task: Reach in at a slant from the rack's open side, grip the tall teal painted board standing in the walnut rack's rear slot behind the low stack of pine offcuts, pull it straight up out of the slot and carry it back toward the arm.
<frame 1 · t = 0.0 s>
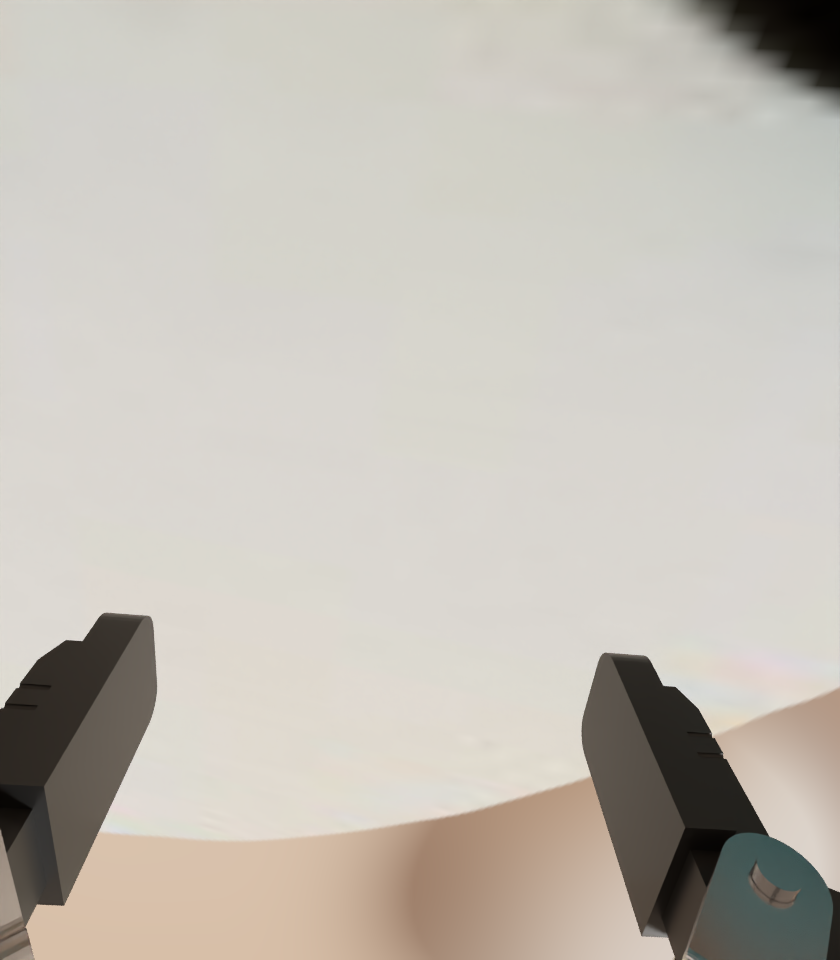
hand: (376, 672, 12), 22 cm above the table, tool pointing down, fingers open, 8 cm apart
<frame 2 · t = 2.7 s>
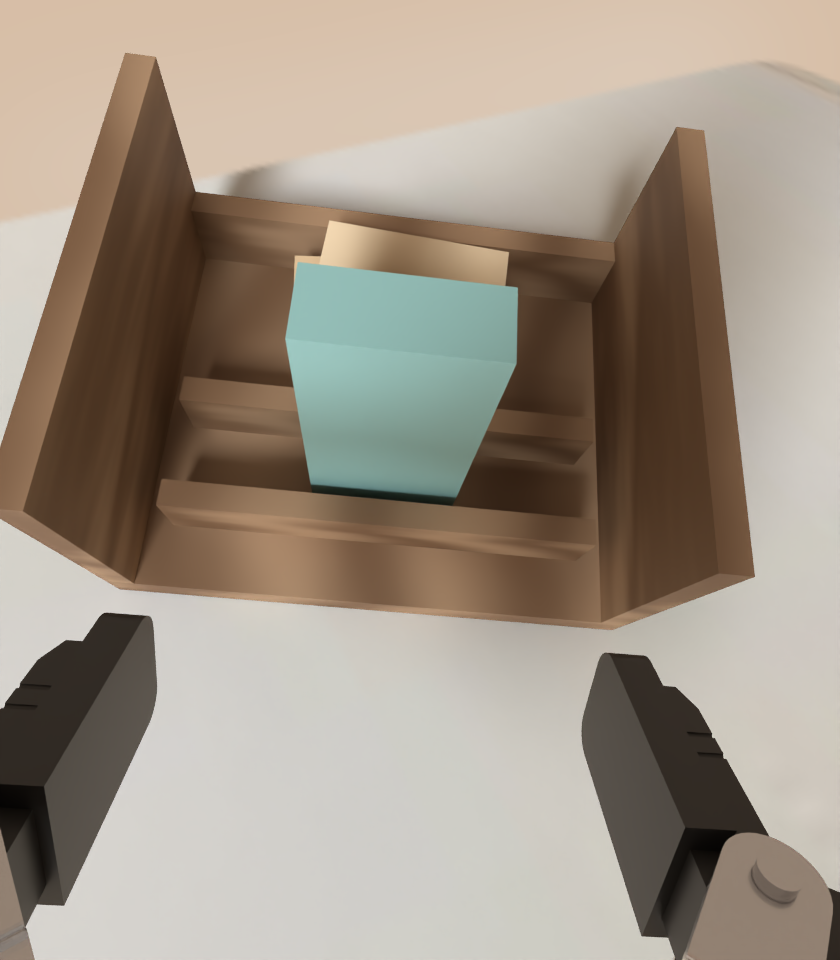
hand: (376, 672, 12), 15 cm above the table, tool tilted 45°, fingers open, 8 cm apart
teal board: (384, 482, 27), point 1 cm above the table, touching walnut rack
walnut rack: (388, 431, 30), on the table
offcut stack: (396, 346, 30), point 1 cm above the table, touching walnut rack
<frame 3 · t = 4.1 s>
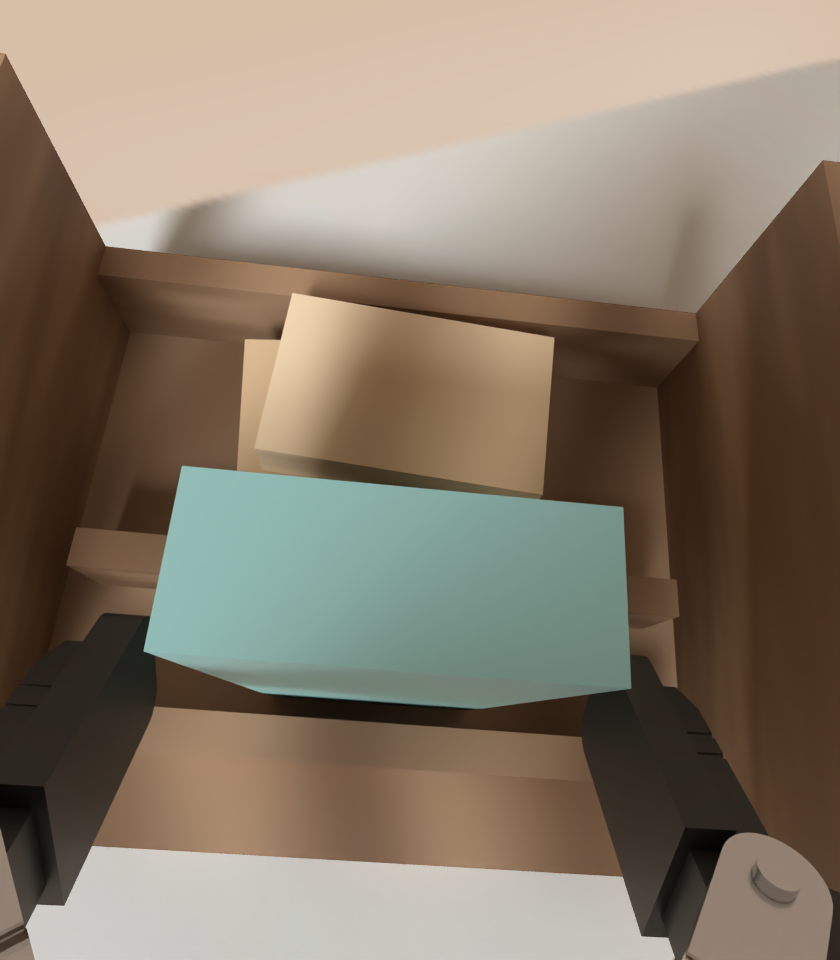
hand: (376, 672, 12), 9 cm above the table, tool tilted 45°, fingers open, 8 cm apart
teal board: (373, 663, 19), point 1 cm above the table, touching walnut rack
walnut rack: (380, 572, 22), on the table
offcut stack: (391, 455, 21), point 1 cm above the table, touching walnut rack
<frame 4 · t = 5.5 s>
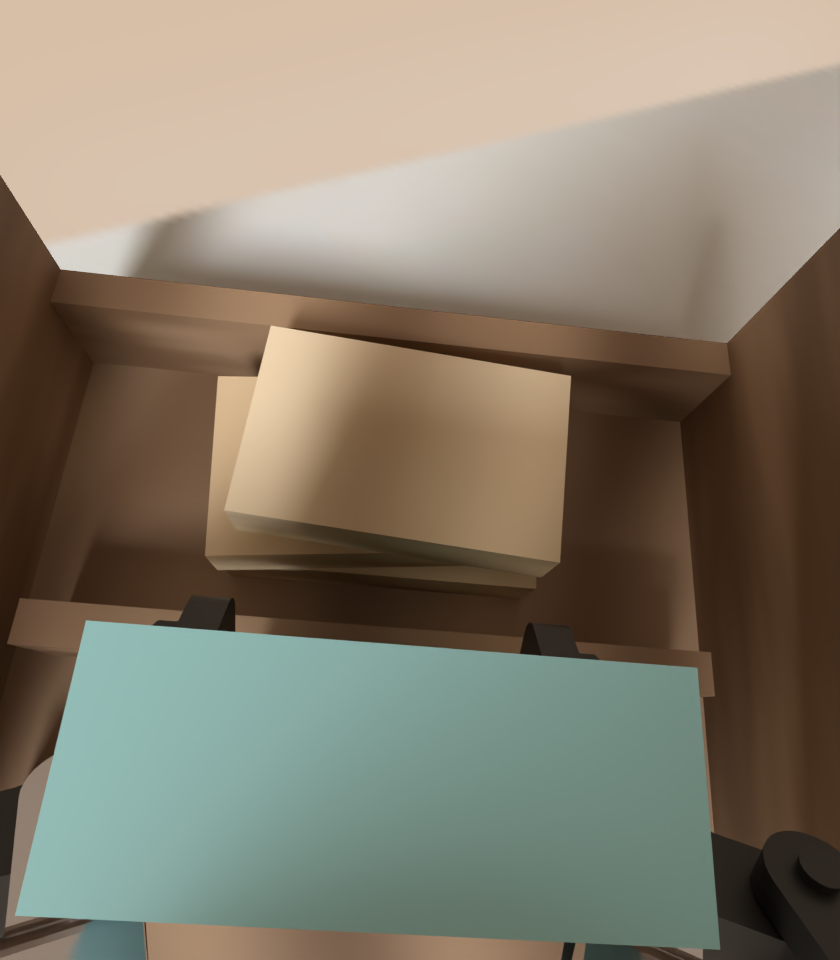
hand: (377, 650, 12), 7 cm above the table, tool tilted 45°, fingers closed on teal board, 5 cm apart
teal board: (365, 744, 17), point 2 cm above the table, touching gripper, walnut rack
walnut rack: (373, 631, 19), on the table
offcut stack: (386, 501, 19), point 1 cm above the table, touching walnut rack
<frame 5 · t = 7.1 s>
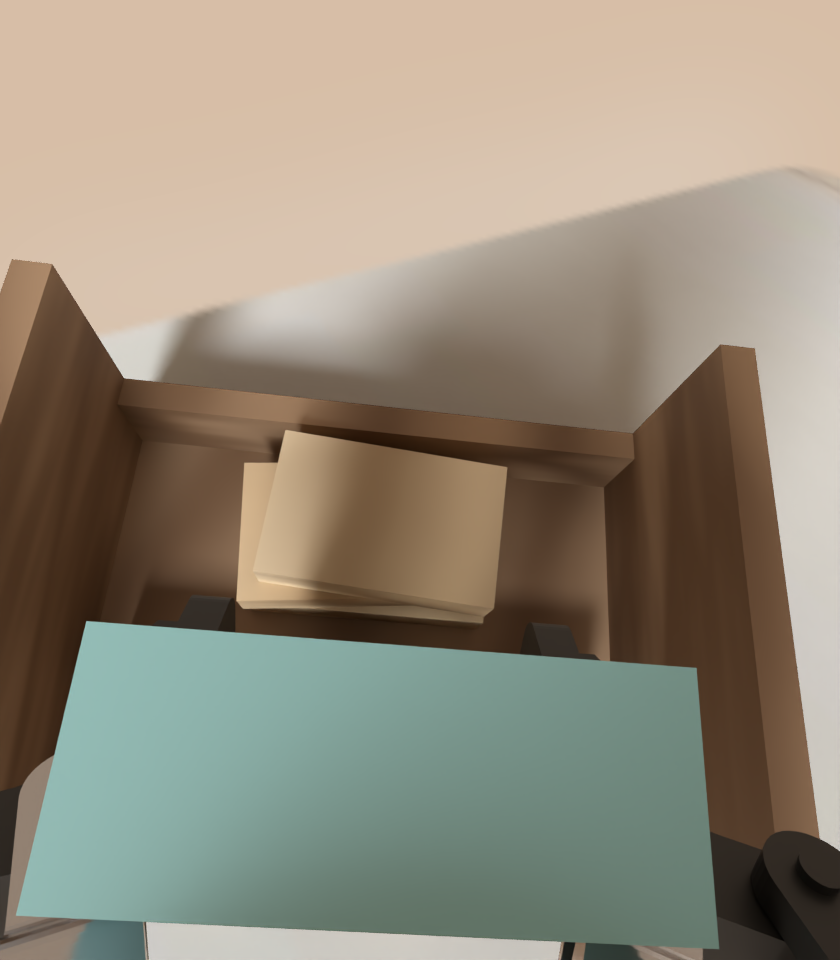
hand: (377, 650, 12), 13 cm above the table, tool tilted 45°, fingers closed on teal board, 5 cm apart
teal board: (365, 743, 17), point 7 cm above the table, touching gripper
walnut rack: (360, 652, 25), on the table
offcut stack: (371, 551, 25), point 1 cm above the table, touching walnut rack
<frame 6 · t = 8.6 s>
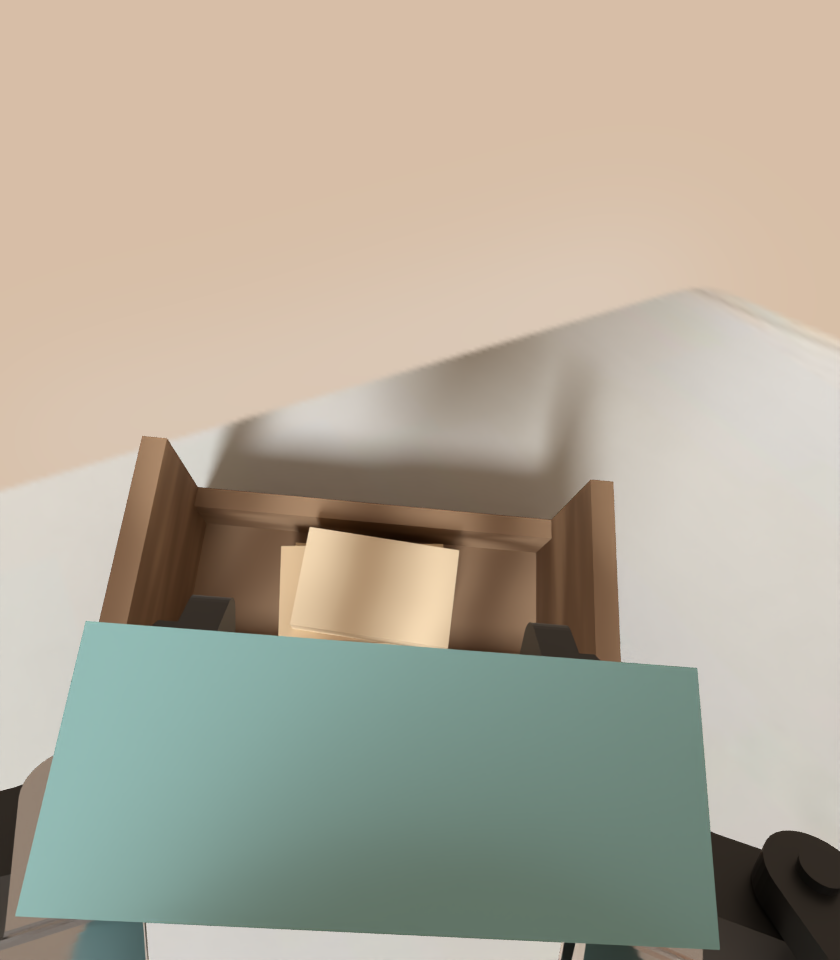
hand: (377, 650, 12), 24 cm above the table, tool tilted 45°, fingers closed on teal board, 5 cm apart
teal board: (365, 743, 17), point 18 cm above the table, touching gripper
walnut rack: (361, 673, 35), on the table
offcut stack: (368, 602, 35), point 1 cm above the table, touching walnut rack
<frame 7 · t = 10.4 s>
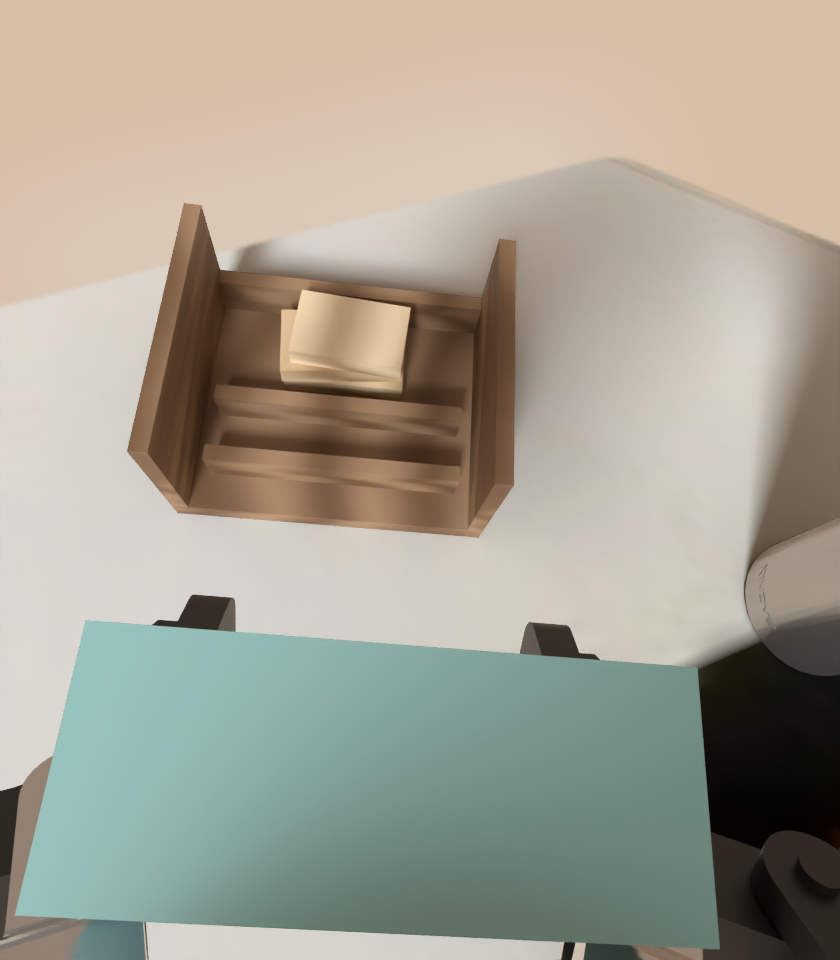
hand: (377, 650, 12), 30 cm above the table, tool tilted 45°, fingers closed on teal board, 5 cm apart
teal board: (365, 743, 17), point 25 cm above the table, touching gripper
walnut rack: (342, 417, 47), on the table
offcut stack: (346, 363, 47), point 1 cm above the table, touching walnut rack
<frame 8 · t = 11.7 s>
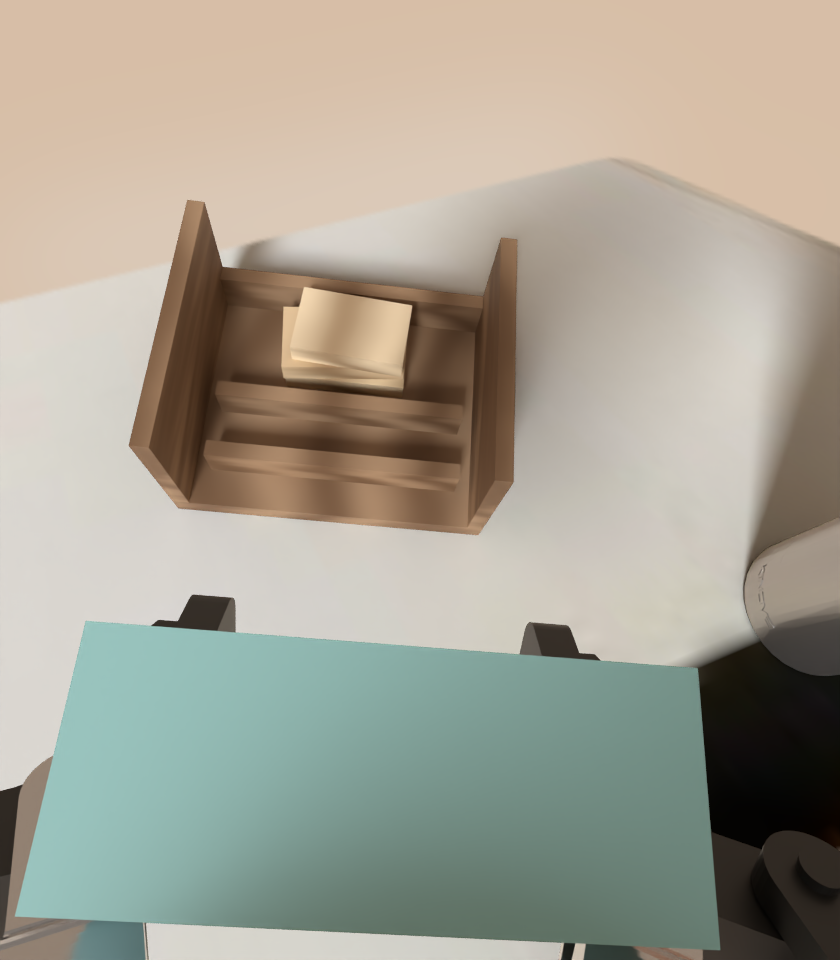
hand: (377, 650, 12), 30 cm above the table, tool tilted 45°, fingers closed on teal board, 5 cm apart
teal board: (365, 743, 17), point 25 cm above the table, touching gripper
walnut rack: (343, 414, 47), on the table
offcut stack: (348, 360, 47), point 1 cm above the table, touching walnut rack
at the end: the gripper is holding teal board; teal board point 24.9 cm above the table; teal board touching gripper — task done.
